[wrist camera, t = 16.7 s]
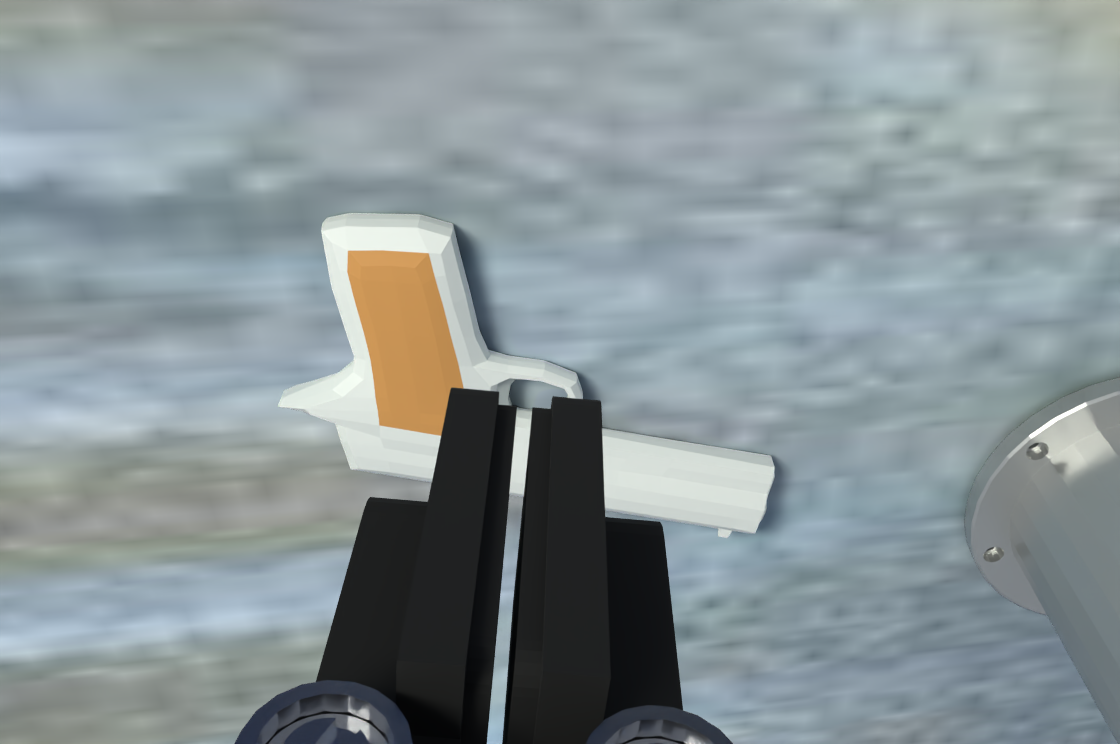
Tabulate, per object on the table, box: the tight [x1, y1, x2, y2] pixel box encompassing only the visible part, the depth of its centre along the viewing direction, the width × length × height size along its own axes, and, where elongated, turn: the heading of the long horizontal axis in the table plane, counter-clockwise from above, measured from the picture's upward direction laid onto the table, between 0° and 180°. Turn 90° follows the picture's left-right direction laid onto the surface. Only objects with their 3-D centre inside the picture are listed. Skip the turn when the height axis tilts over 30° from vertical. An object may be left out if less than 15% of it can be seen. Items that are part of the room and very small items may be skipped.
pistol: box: [278, 213, 775, 538], centre depth 40 cm, size 2×20×11 cm
